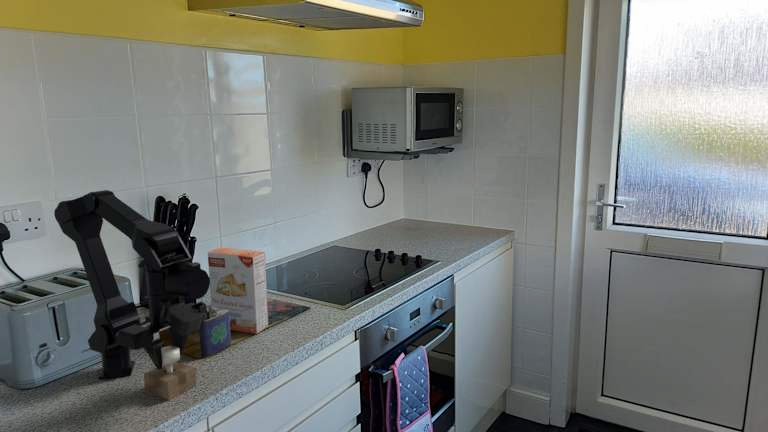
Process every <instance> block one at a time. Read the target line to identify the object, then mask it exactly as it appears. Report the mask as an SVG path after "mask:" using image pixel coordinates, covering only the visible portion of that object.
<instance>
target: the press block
mask: <svg viewBox="0 0 768 432" xmlns="http://www.w3.org/2000/svg"><path fill="white" fill-rule="evenodd" d="M172 366H173V372H172V373H170V374H168V373H167V371H166V364H162V369H157V368H156V367H155V368H154V369H151V370H149V371H146V372H145V373H143V382H144V384H143V385H144V392H145V393H146V394H149V395H152V396H155V397H158V398H161V399H164V400H167V401H171V400H173V399H175V398H177V397H178V396H180V395H182V394H184V393H186V392H188V391H189V390H191V389H193V388H195V387H197V376H196V372H197V371H196V367H194V366H191V365H188V364H184V363H180V362H179V361H177V362H175V363H172Z"/></svg>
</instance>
